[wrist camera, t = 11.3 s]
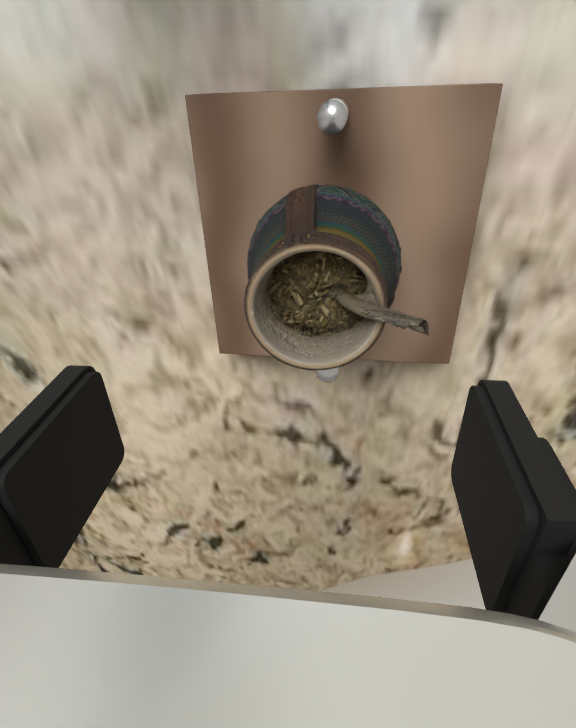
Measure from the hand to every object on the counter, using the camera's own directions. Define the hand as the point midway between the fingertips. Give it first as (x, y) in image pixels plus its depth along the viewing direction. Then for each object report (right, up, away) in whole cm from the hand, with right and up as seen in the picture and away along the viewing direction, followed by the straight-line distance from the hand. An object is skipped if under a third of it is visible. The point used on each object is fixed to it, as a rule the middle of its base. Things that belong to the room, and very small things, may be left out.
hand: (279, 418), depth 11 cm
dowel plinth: (+3, +9, +14) cm, 17 cm away
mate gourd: (+2, +8, +12) cm, 15 cm away
